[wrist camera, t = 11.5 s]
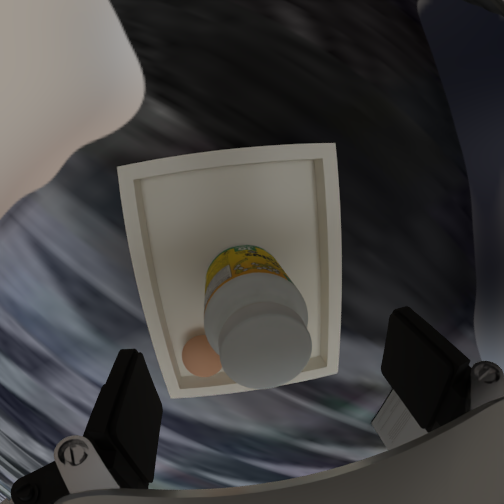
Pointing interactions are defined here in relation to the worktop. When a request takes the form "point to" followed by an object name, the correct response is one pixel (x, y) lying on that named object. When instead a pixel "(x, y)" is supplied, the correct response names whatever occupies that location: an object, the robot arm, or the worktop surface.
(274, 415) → the worktop surface
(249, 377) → the supplement bottle
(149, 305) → the tray
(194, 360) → the ball
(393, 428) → the supplement box
